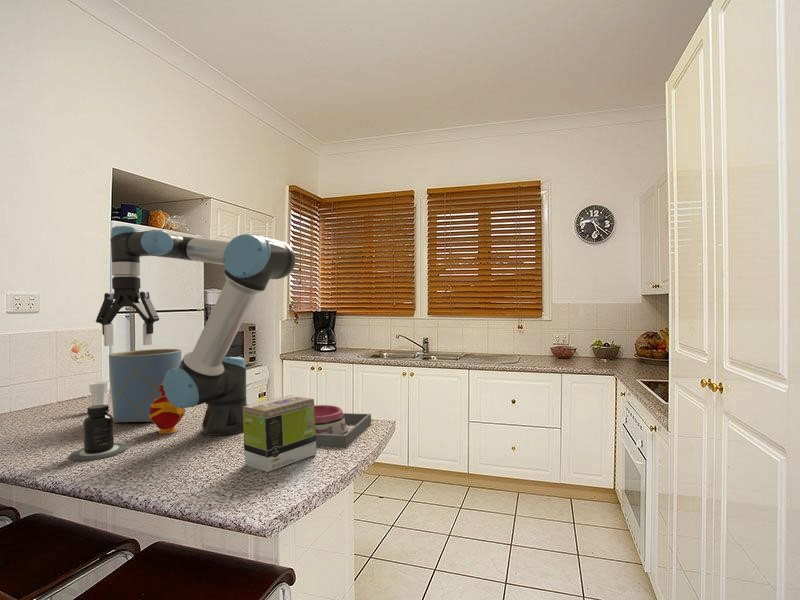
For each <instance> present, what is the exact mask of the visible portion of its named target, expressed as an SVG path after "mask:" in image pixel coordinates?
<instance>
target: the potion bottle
mask: <svg viewBox="0 0 800 600" xmlns="http://www.w3.org/2000/svg"><path fill="white" fill-rule="evenodd" d="M159 385H160V388H159V391H160V392H162V396H161V397H159V398H156V399H154V402H153V403H152V404H151V407H150V412H149V413H150V415H149V416H150V419H151V420H152V421H153V422H152V423H154V424H155V426H156V427H157V428H158V429H159V431H158V434H160V435H161V434H163V435H164V434H171V433H174V432H176V431H177V429H176V428H175V426H177V425H178V423H180V422H181V420H182V419H183V417H184V415H185V413H186V409H187V408H178V407H175V406H174V405H172V404H171V403H170V402H169V400H168V399H167V397H166V395H165V391H164V388H163V384H159Z"/></svg>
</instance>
